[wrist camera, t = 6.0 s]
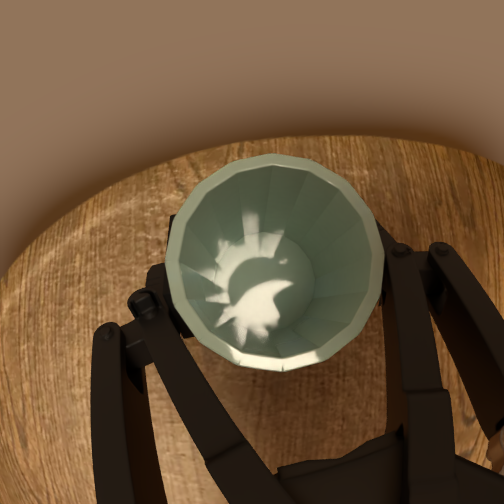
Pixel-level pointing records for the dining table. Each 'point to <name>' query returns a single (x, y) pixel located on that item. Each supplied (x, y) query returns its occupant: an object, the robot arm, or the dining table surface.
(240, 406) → the dining table surface
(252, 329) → the cup
